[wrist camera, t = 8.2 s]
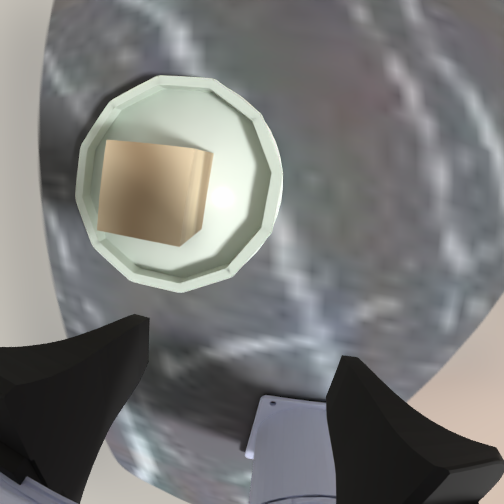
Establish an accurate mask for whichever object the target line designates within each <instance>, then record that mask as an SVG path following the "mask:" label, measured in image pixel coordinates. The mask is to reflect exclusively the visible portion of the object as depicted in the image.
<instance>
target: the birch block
mask: <svg viewBox="0 0 504 504" xmlns="http://www.w3.org/2000/svg"><path fill="white" fill-rule="evenodd" d="M213 155H214V153H210V152H206V151H202V150H198V149H194V148H186V147H178V146H170V145H161V144H151V143H141V142H129V141H117V140H106V147H105V153H104V161H103V169H102V177H101V186H100V196H99V208H98V221H97V230H98V231H103V232H108V233H113V234H118V235H123V236H128V237H133V238H137V239H142V240H147V241H152V242H157V243H162V244H167V245H172V246H177V247H180V246H181V245H183V244H184V243H185V242H186V241H188V240H189V239H190V238H191V237H192V236H194V235H195V234H196V233H197V232H199V231H200V230H201V229H202V224H203V217H204V211H205V204H206V198H207V191H208V185H209V179H210V173H211V167H212V161H213Z"/></svg>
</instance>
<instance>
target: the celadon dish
mask: <svg viewBox="0 0 504 504" xmlns="http://www.w3.org/2000/svg"><path fill="white" fill-rule="evenodd" d="M106 140H117V141H129V142H141V143H151V144H161V145H170V146H178V147H186V148H194V149H198V150H202V151H206V152H210V153H214V155H213V161H212V167H211V173H210V179H209V185H208V191H207V198H206V204H205V211H204V217H203V224H202V229H201V230H200V231H199V232H197V233H196V234H195V235H194V236H192V237H191V238H190V239H189V240H188V241H186V242H185V243H184V244H183V245H181V246H180V247H177V246H172V245H167V244H162V243H157V242H152V241H147V240H142V239H137V238H133V237H128V236H123V235H118V234H113V233H108V232H103V231H98V230H97V221H98V208H99V196H100V186H101V177H102V169H103V161H104V153H105V147H106ZM81 146H82V147H80V154H79V162H78V171H77V180H76V192H75V198H76V199H75V200H76V203H77V206H78V209H79V211H80V214H81V217H82V220H83V222H84V225H85V228H86V230H87V233H88V236H89V238H90V241H91V243H92V246H94V248H95V249H96V250H97V251H98V252H99V253H100V254H101V255H102V256H103V257H104V258H105V259H106V260H108V261H109V262H110V263H111V264H112V265H113V266H114V267H115V268H116V269H117V270H119V271H120V272H121V273H122V274H123V275H124V276H125V277H126V278H128V279H129V280H130V281H131V282H136V283H140V284H144V285H148V286H152V287H156V288H161V289H165V290H169V291H174V292H178V293H183V292H186V291H190V290H193V289H196V288H199V287H202V286H206V285H209V284H212V283H215V282H218V281H221V280H225V279H228V278H231V277H232V276H234V275H235V274H236V273H237V272H238V270H239V269H240V268H241V267H242V266H243V265H244V264H245V263H246V262H247V261H248V260H249V259H250V258H251V257H252V256H253V255H254V254H255V253H256V252H257V251H258V250H259V248H260V247H261V246H262V244H263V243H264V242H265V240H266V239H267V238H268V237H269V236H270V234H271V232H272V229H273V225H274V223H275V220H276V218H277V215H278V211H279V207H280V204H281V198H282V189H283V170H282V165H281V158H280V154H279V151H278V147H277V144H276V142H275V139H274V137H273V135H272V133H271V130H270V129H269V127H268V126H267V124H266V122H265V121H264V119H263V116H262V115H261V113H260V112H258V111H257V110H256V109H255V108H254V107H253V106H252V105H251V104H250V103H248V102H247V101H246V100H245V99H244V98H243V97H241V96H240V95H238V94H237V93H235V92H234V91H232V90H230V89H228V88H227V87H225V86H224V85H222V84H221V83H220V82H218V81H217V80H214V79H211V78H199V77H184V76H163V75H159V76H156V77H154V78H152V79H150V80H148V81H146V82H144V83H142V84H140V85H138V86H136V87H134V88H132V89H131V90H129V91H127V92H125V93H123V94H121V95H120V96H118V97H116V98H114V99H113V100H111V102H109V103H108V105H107V106H106V107H105V109H104V110H103V112H102V113H101V115H100V116H99V118H98V119H97V121H96V122H95V124H94V125H93V127H92V128H91V130H90V132H89V133H88V135H87V136H86V138H85V140H84V141H83V143H82V144H81Z"/></svg>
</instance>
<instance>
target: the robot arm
mask: <svg viewBox="0 0 504 504" xmlns="http://www.w3.org/2000/svg"><path fill="white" fill-rule="evenodd" d="M149 319H150V318H148V317H144V316H140V315H136V314H133V315H130V316H127V317H125V318H122V319H120V320H118V321H115V322H113V323H110V324H108V325H105V326H103V327H100V328H98V329H95V330H93V331H90V332H87V333H84V334H81V335H78V336H75V337H72V338H69V339H65V340H61V341H57V342H52V343H47V344H40V345H33V346H23V347H0V504H80V501H81V498H82V494H83V491H84V488H85V485H86V483H87V480H88V477H89V474H90V472H91V469H92V466H93V464H94V461H95V459H96V457H97V454H98V452H99V450H100V447H101V445H102V443H103V441H104V439H105V437H106V435H107V432H108V430H109V428H110V427H111V425H112V423H113V421H114V420H115V418H116V417H117V415H118V414H119V412H120V411H121V409H122V408H123V406H124V405H125V403H126V402H127V400H128V399H129V397H130V395H131V394H132V392H133V391H134V389H135V388H136V386H137V385H138V383H139V381H140V379H141V377H142V375H143V373H144V371H145V368H146V366H147V364H148V351H149ZM272 401H274V402H275V403H271V402H272ZM245 457H247V458H249V459H253V469H252V478H251V487H250V496H249V504H479V503H478V502H479V500H480V499H482V498H483V497H484V496H485V495H486V494H487V493H488V492H489V491H490V490H491V489H492V487H494V485H495V484H496V483H497V482H498V481H499V480H500V478H501V477H502V475H503V473H504V460H503V458H502V456H501V455H500V453H499V451H498V450H497V448H496V447H493V446H489V445H486V444H482V443H479V442H476V441H473V440H470V439H467V438H465V437H463V436H460V435H458V434H456V433H453V432H451V431H449V430H447V429H445V428H444V427H442V426H440V425H438V424H436V423H435V422H433V421H431V420H429V419H428V418H426V417H425V416H423V415H422V414H421V413H419V412H418V411H416V410H415V409H413V408H412V407H411V406H409V405H408V404H407V403H406V402H405V401H403V400H402V399H401V398H400V397H399V396H398V395H396V394H395V393H394V392H393V391H392V390H391V389H390V388H389V387H388V386H387V385H386V384H385V383H383V382H382V381H381V380H380V379H379V378H378V377H377V376H376V375H375V374H374V373H373V372H372V371H371V370H370V369H369V368H368V367H367V366H366V365H365V364H364V363H363V362H362V361H361V360H360V359H359V358H357V357H351V356H343V355H342V357H341V359H340V362H339V365H338V368H337V370H336V373H335V375H334V378H333V381H332V383H331V386H330V388H329V391H328V393H327V396H326V403H323V402H314V401H305V400H297V399H290V398H283V397H277V396H270V395H264V396H262V397H261V398H260V401H259V405H258V409H257V412H256V416H255V419H254V423H253V427H252V430H251V434H250V437H249V441H248V444H247V447H246V451H245Z"/></svg>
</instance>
